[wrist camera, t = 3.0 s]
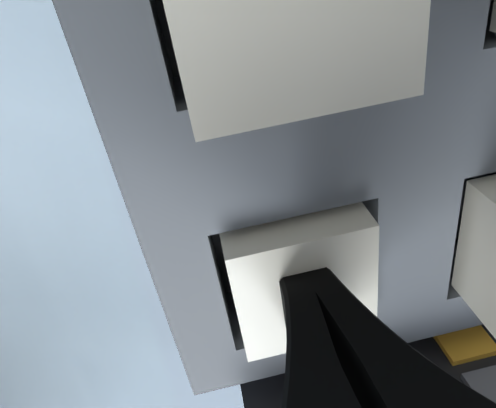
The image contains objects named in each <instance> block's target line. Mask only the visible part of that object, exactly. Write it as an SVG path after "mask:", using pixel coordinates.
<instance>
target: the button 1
mask: <svg viewBox="0 0 496 408" xmlns="http://www.w3.org/2000/svg"><path fill="white" fill-rule="evenodd" d="M162 1H163V5H164V9H165V14H166V18H167V22H168V27H169V31H170V35H171V39H172V44H173V48H174V52H175V57H176V61H177V65H178V70H179V74H180V78H181V82H182V87H183V91H184V95H185V100H186V104H187V108H188V112H189V117H190V121H191V125H192V130H193V134H194V138H195V142H200V141H204V140H209V139H214V138H219V137H224V136H228V135H233V134H238V133H243V132H248V131H252V130H257V129H262V128H267V127H272V126H276V125H281V124H286V123H291V122H296V121H300V120H305V119H310V118H315V117H320V116H324V115H329V114H334V113H339V112H344V111H348V110H353V109H358V108H363V107H368V106H372V105H377V104H382V103H387V102H392V101H396V100H401V99H406V98H411V97H416V96H420V95H424V83H425V70H426V57H427V44H428V31H429V18H430V5H431V0H162Z"/></svg>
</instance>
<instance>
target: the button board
mask: <svg viewBox="0 0 496 408" xmlns="http://www.w3.org/2000/svg"><path fill="white" fill-rule="evenodd" d="M52 2H53V5H54V7H55V10H56V13H57V16H58V18H59V21H60V24H61V27H62V30H63V32H64V35H65V38H66V41H67V43H68V46H69V49H70V52H71V55H72V57H73V60H74V63H75V66H76V68H77V71H78V74H79V77H80V80H81V82H82V85H83V88H84V91H85V93H86V96H87V99H88V102H89V104H90V107H91V110H92V113H93V116H94V118H95V121H96V124H97V127H98V129H99V132H100V135H101V138H102V141H103V143H104V146H105V149H106V152H107V154H108V157H109V160H110V163H111V166H112V168H113V171H114V174H115V177H116V179H117V182H118V185H119V188H120V191H121V193H122V196H123V199H124V202H125V204H126V207H127V210H128V213H129V216H130V218H131V221H132V224H133V227H134V229H135V232H136V235H137V238H138V240H139V243H140V246H141V249H142V252H143V254H144V257H145V260H146V263H147V265H148V268H149V271H150V274H151V277H152V279H153V282H154V285H155V288H156V290H157V293H158V296H159V299H160V302H161V304H162V307H163V310H164V313H165V315H166V318H167V321H168V324H169V327H170V329H171V332H172V335H173V338H174V340H175V343H176V346H177V349H178V351H179V354H180V357H181V360H182V363H183V365H184V368H185V371H186V374H187V376H188V379H189V382H190V385H191V388H192V390H193V393H194V395H198V394H202V393H206V392H210V391H214V390H218V389H222V388H226V387H230V386H234V385H238V384H240V385H241V391H242V397H243V402H244V408H281V406H282V398H283V390H284V379H285V365H286V353H284V354H280V355H276V356H272V357H268V358H264V359H259V360H255V361H251V362H248V360H247V356H246V351H245V347H244V342H243V338H242V334H241V329H240V325H239V321H238V316H237V312H236V308H235V303H234V299H233V295H232V290H231V286H230V282H229V277H228V273H227V269H226V264H225V260H224V255H223V250H222V245H221V240H220V235H219V233H223V232H228V231H232V230H237V229H241V228H246V227H250V226H255V225H259V224H264V223H268V222H273V221H277V220H282V219H286V218H291V217H295V216H300V215H304V214H308V213H313V212H317V211H322V210H326V209H331V208H335V207H340V206H344V205H349V204H353V203H358V202H362V203H363V204H364V205H365V207H366V208H367V210H368V211H369V212H370V214H371V215H372V216H373V218H374V219H375V220H376V222H377V223H378V224H379V265H378V307H377V317H378V318H379V319H380V320H381V321H382V322H383V323H384V324H385V325H387V326H388V327H389V328H390V329H391V330H392V331H394V332H395V333H396V334H397V335H398V336H400V337H401V338H402V339H403V340H404V341H406V342H407V343H408V344H409V345H411V346H412V347H413V348H414V349H416V350H417V351H418V352H420V353H421V354H422V355H424V356H425V357H426V358H428V359H429V360H430V361H432V362H433V363H435V364H436V365H437V366H439V367H440V368H442V369H443V370H444V371H446V372H447V373H449V374H450V375H452V376H453V377H455V378H456V379H458V380H459V381H461V382H462V383H464V384H465V385H467V386H468V387H470V388H472V389H473V390H475V391H477V392H478V393H480V394H482V395H483V396H485V397H487V398H488V399H490V400H492V401H493V402H495V403H496V339H495V338H494V337H493V335H492V334H491V333H490V332H489V331H488V329H487V328H486V327H485V326H484V324H483V323H482V322H481V321H480V319H479V318H478V317H477V316H476V315H475V313H474V312H473V311H472V310H471V308H470V307H469V306H468V305H467V304H466V302H465V301H464V300H463V299H462V297H461V296H460V295H459V294H458V292H457V291H456V290H455V289H454V288H453V286H452V285H451V284H452V277H453V271H454V264H455V257H456V250H457V244H458V237H459V230H460V224H461V217H462V210H463V204H464V197H465V190H466V184H467V181H468V180H472V179H477V178H481V177H485V176H490V175H494V174H496V33H495V32H492V31H489V30H490V23H491V16H492V10H493V3H494V0H431V5H430V18H429V31H428V44H427V57H426V70H425V83H424V95H420V96H416V97H411V98H406V99H401V100H396V101H392V102H387V103H382V104H377V105H372V106H368V107H363V108H358V109H353V110H348V111H344V112H339V113H334V114H329V115H324V116H320V117H315V118H310V119H305V120H300V121H296V122H291V123H286V124H281V125H276V126H272V127H267V128H262V129H257V130H252V131H248V132H243V133H238V134H233V135H228V136H224V137H219V138H214V139H209V140H204V141H200V142H195V138H194V134H193V130H192V125H191V121H190V117H189V112H188V108H187V104H186V100H185V95H184V91H183V87H182V82H181V78H180V74H179V70H178V65H177V61H176V57H175V52H174V48H173V44H172V39H171V35H170V31H169V27H168V22H167V18H166V14H165V9H164V5H163V1H162V0H52Z"/></svg>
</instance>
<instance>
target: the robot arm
mask: <svg viewBox="0 0 496 408" xmlns="http://www.w3.org/2000/svg"><path fill="white" fill-rule="evenodd" d="M279 285H280V292H281V298H282V305H283V312H284V319H285V326H286V339H287V343H286V365H285V379H284V390H283V398H282V406H281V408H496V403H495V402H493V401H492V400H490V399H488V398H487V397H485V396H483V395H482V394H480V393H478V392H477V391H475V390H473V389H472V388H470V387H468V386H467V385H465V384H464V383H462V382H461V381H459V380H458V379H456V378H455V377H453V376H452V375H450V374H449V373H447V372H446V371H444V370H443V369H442V368H440V367H439V366H437V365H436V364H435V363H433V362H432V361H430V360H429V359H428V358H426V357H425V356H424V355H422V354H421V353H420V352H418V351H417V350H416V349H414V348H413V347H412V346H411V345H409V344H408V343H407V342H406V341H404V340H403V339H402V338H401V337H400V336H398V335H397V334H396V333H395V332H394V331H392V330H391V329H390V328H389V327H388V326H387V325H385V324H384V323H383V322H382V321H381V320H380V319H379V318H378V317H377V316H375V315H374V314H373V313H372V312H371V311H370V310H369V309H368V308H367V307H366V306H365V305H364V304H363V303H362V302H360V301H359V300H358V299H357V298H356V297H355V296H354V295H353V294H352V293H351V292H350V291H349V289H348V288H347V287H346V286H345V285H344V284H343V283H342V282H341V281H340V280H339V279H338V278H337V277H336V276H335V274H334V273H333V272H332V271H331V270H330V269H328V268H327V267H325V268H321V269H316V270H312V271H308V272H304V273H299V274H295V275H291V276H286V277H283V278H282V279H281V280H280V281H279Z"/></svg>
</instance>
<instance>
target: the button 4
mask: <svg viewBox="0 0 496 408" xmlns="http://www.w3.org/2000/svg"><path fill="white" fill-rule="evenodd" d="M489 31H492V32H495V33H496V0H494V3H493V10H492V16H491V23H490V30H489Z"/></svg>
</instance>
